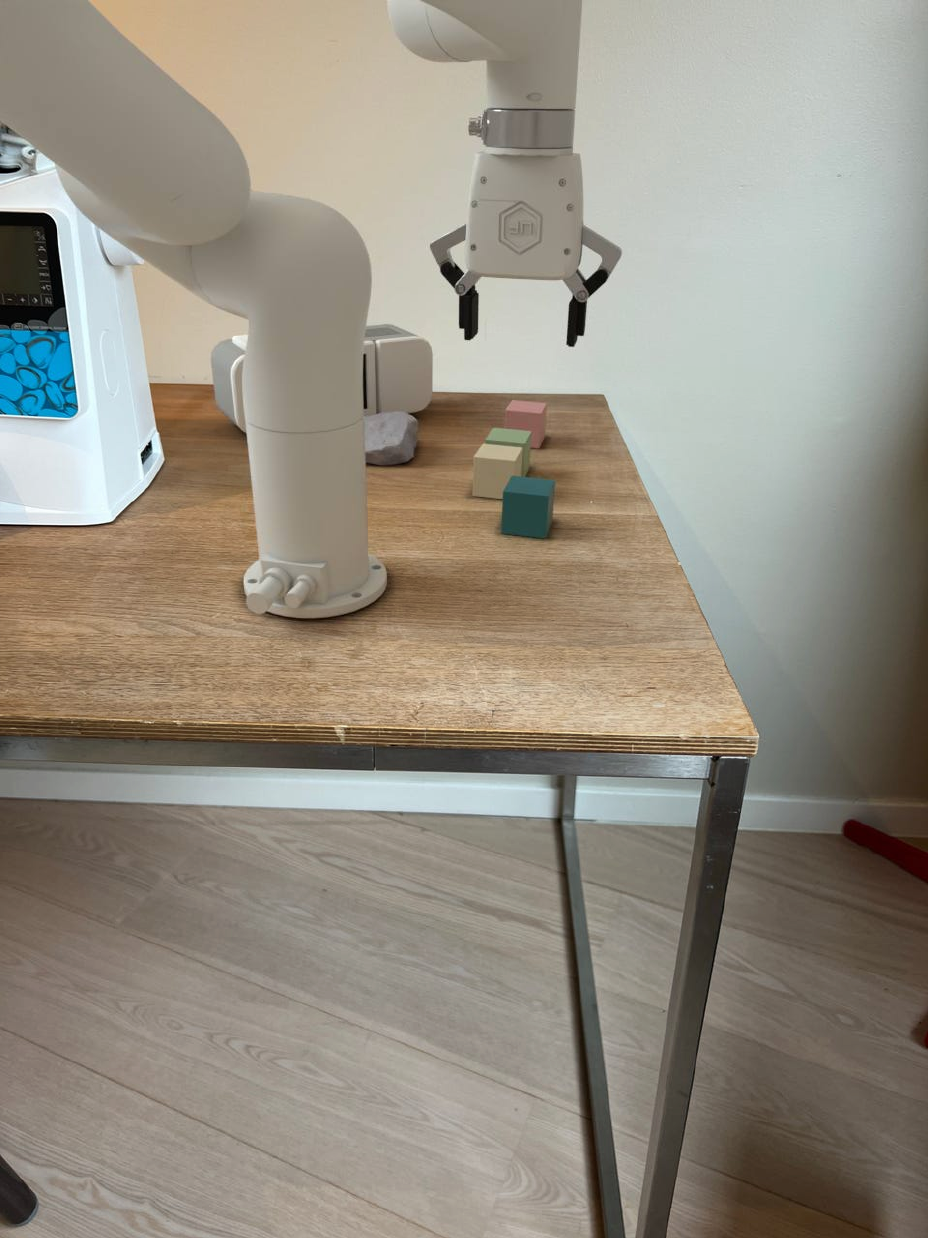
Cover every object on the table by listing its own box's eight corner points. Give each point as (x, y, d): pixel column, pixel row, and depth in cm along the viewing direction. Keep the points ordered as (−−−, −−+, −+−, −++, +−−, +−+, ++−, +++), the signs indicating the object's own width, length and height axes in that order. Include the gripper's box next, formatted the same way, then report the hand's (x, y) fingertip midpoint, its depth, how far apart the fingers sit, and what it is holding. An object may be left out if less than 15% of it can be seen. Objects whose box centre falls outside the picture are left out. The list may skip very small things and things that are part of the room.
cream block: (513, 500, 99) (515, 460, 97) (472, 496, 100) (473, 456, 98) (520, 485, 103) (522, 447, 101) (481, 481, 104) (482, 443, 102)
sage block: (522, 481, 104) (524, 443, 102) (483, 477, 105) (485, 439, 103) (529, 468, 108) (531, 431, 106) (491, 464, 109) (493, 427, 107)
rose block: (539, 448, 114) (541, 413, 112) (503, 445, 115) (505, 409, 113) (544, 437, 118) (547, 402, 116) (510, 434, 119) (512, 399, 117)
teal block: (545, 538, 91) (548, 496, 88) (500, 533, 91) (502, 491, 89) (552, 521, 94) (555, 479, 92) (509, 516, 95) (511, 475, 93)
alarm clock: (240, 447, 112) (229, 350, 106) (218, 426, 119) (207, 334, 113) (433, 418, 124) (433, 329, 119) (402, 400, 131) (401, 316, 125)
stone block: (410, 480, 108) (421, 438, 116) (407, 445, 105) (419, 404, 113) (313, 477, 110) (331, 436, 117) (307, 443, 106) (326, 402, 114)
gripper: (419, 134, 75) (422, 343, 83) (629, 138, 72) (609, 356, 80) (440, 130, 81) (441, 326, 90) (635, 134, 78) (616, 336, 87)
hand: (521, 340), depth 85 cm, fingers open, 9 cm apart
